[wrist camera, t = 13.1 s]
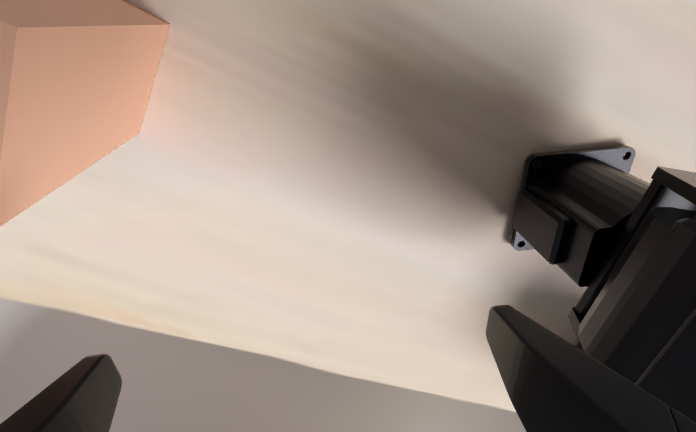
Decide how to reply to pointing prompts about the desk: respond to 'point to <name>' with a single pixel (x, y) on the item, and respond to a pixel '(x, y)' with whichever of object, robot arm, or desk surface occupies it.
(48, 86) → the carton
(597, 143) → the desk surface
